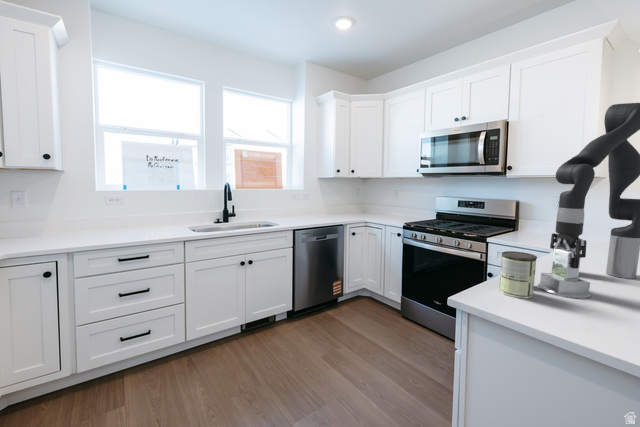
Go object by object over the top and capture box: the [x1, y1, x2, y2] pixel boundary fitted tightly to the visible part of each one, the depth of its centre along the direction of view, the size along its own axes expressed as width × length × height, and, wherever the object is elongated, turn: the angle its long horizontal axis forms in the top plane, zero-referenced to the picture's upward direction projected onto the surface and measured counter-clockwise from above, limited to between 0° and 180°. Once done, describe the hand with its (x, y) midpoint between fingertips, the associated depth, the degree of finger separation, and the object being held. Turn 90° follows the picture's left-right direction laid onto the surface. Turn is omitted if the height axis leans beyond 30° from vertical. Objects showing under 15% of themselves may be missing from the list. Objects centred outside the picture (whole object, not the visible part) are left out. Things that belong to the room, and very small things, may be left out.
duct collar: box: [537, 272, 591, 299], centre depth 110 cm, size 15×15×5 cm
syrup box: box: [551, 249, 582, 281], centre depth 109 cm, size 6×6×14 cm
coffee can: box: [499, 250, 538, 299], centre depth 106 cm, size 10×10×14 cm
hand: (565, 264), depth 109 cm, fingers open, 8 cm apart
